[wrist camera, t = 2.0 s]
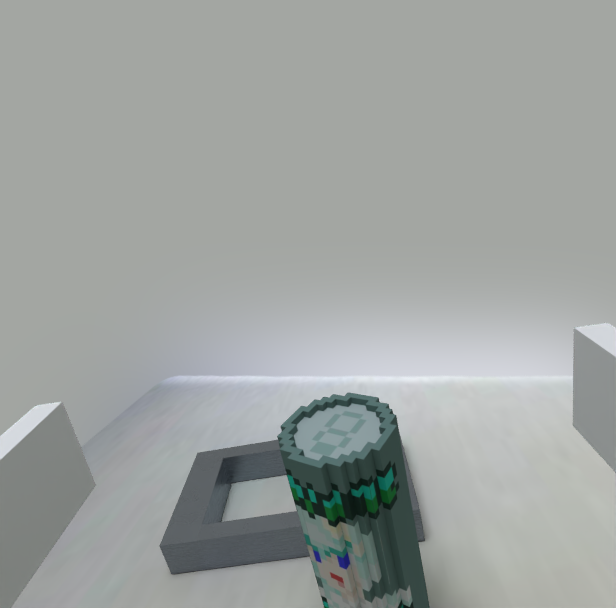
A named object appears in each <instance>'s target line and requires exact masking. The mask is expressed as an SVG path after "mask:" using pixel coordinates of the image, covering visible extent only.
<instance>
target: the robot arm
mask: <svg viewBox="0 0 616 608" xmlns="http://www.w3.org/2000/svg"><path fill="white" fill-rule="evenodd" d="M573 370H574V371H573V426H574V427H575V428H576V430H577V431H578V432H579V433H580V434H581V435H582V436H583V437H584V438H585V439H586V441H587V442H588V443H589V444H590V445H591V446H592V447H593V448H594V449H595V450H596V452H597V453H598V454H599V455H600V456H601V457H602V458H603V459H604V460H605V461H606V463H607V464H608V465H609V466H610V467H611V468H612V469H613V470H614V471H615V473H616V328H615V327H614V326H612V325H610V324H609V323H602V324H595V325H588V326H582V327H575V328H574V364H573ZM95 486H96V484H95V481H94V479H93V476H92V474H91V472H90V469H89V467H88V464H87V462H86V459H85V457H84V454H83V452H82V449H81V447H80V444H79V442H78V439H77V437H76V434H75V432H74V429H73V427H72V424H71V422H70V420H69V417H68V415H67V412H66V410H65V407H64V405H63V403H62V402H57V403H50V404H43V405H36V406H35V407H33V408H32V409H31V410H30V411H29V412H28V413H27V414H25V415H24V416H23V417H22V418H21V419H20V420H18V421H17V422H16V423H15V424H14V425H13V426H12V427H10V428H9V429H8V430H7V431H6V432H5V433H4V434H2V435H1V436H0V608H11V607H12V605H13V604H14V602H15V601H16V600H17V598H18V597H19V595H20V594H21V592H22V591H23V589H24V588H25V587H26V585H27V584H28V582H29V581H30V579H31V578H32V576H33V575H34V574H35V572H36V571H37V569H38V568H39V566H40V565H41V564H42V562H43V561H44V559H45V558H46V556H47V555H48V553H49V552H50V551H51V549H52V548H53V546H54V545H55V543H56V542H57V540H58V539H59V538H60V536H61V535H62V533H63V532H64V530H65V529H66V528H67V526H68V525H69V523H70V522H71V520H72V519H73V517H74V516H75V515H76V513H77V512H78V510H79V509H80V507H81V506H82V504H83V503H84V502H85V500H86V499H87V497H88V496H89V494H90V493H91V492H92V490H93V489H94V487H95Z"/></svg>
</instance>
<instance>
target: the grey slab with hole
mask: <svg viewBox="0 0 616 608" xmlns="http://www.w3.org/2000/svg"><path fill="white" fill-rule="evenodd" d="M399 435H400V434H399ZM400 441H401V437H400ZM401 446H402V452H403V458H404V464H405V469H406V475H407V481H408V487H409V492H410V498H411V504H412V510H413V515H414V521H415V527H416V533H417V538H418V541H425V539H424V533H423V527H422V521H421V515H420V509H419V505H418V502H417V498H416V494H415V490H414V486H413V483H412V479H411V475H410V471H409V468H408V464H407V460H406V456H405V453H404V449H403V445H402V441H401ZM286 474H287V473H286V470H285V466H284V463H283V459H282V456H281V452H280V446H279V441H278V440H274V441H268V442H262V443H256V444H250V445H243V446H237V447H231V448H225V449H219V450H212V451H206V452H200V453H197V456H196V458H195V461H194V463H193V466H192V468H191V471H190V473H189V475H188V478H187V480H186V483H185V485H184V488H183V490H182V493H181V495H180V497H179V500H178V502H177V505H176V507H175V510H174V512H173V515H172V517H171V519H170V522H169V524H168V527H167V529H166V532H165V534H164V537H163V539H162V542H161V544H160V548H161V550H162V553H163V555H164V557H165V560H166V562H167V564H168V567H169V569H170V571H171V574H178V573H185V572H193V571H200V570H208V569H215V568H223V567H230V566H237V565H245V564H252V563H260V562H267V561H275V560H282V559H290V558H297V557H305V556H310V555H309V551H308V548H307V544H306V540H305V537H304V533H303V530H302V526H301V523H300V519H299V516H298V512H297V511H295V512H288V513H282V514H275V515H268V516H261V517H254V518H247V519H240V520H233V521H226V522H221V519H222V515H223V512H224V508H225V504H226V501H227V497H228V493H229V490H230V486H231V483H234V482H240V481H247V480H253V479H260V478H266V477H273V476H279V475H286Z"/></svg>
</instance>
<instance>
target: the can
mask: <svg viewBox="0 0 616 608" xmlns="http://www.w3.org/2000/svg"><path fill="white" fill-rule="evenodd" d="M281 429H282V432H281V433H280V434H279V435H278V436H277V437H278V441H279V446H280V452H281V456H282V459H283V463H284V466H285V470H286V473H287V477H288V480H289V484H290V488H291V491H292V495H293V498H294V502H295V505H296V509H297V512H298V516H299V519H300V523H301V526H302V530H303V533H304V537H305V540H306V544H307V548H308V551H309V555H310V558H311V562H312V565H313V569H314V572H315V576H316V579H317V583H318V586H319V590H320V593H321V597H322V600H323V604H324V608H430V607H429V602H428V596H427V590H426V584H425V579H424V573H423V567H422V561H421V556H420V550H419V544H418V538H417V533H416V527H415V521H414V515H413V510H412V504H411V498H410V492H409V487H408V481H407V475H406V469H405V464H404V458H403V452H402V446H401V441H400V435H399V429H398V423H397V418H396V415H394V414H393V411H392V409H389V404H386V403H380V402H379V398H377V397H371V396H365V395H360V394H354V393H347V394H346V395H345V396H341V395H335V394H333V395H332V396H331V397H330V398H328V397H323V398H322V399H321V400H314V401H313V402H312V403H311V404H310V405H308V406H307V407H305V406H301V407H300V408H299V409H298V410H297V411H296V412H295V413H294V414H293V415H292V416H291V417H289V418H288V419H287V420H286V421H285V422H284V423H283V424H282V425H281Z"/></svg>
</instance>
